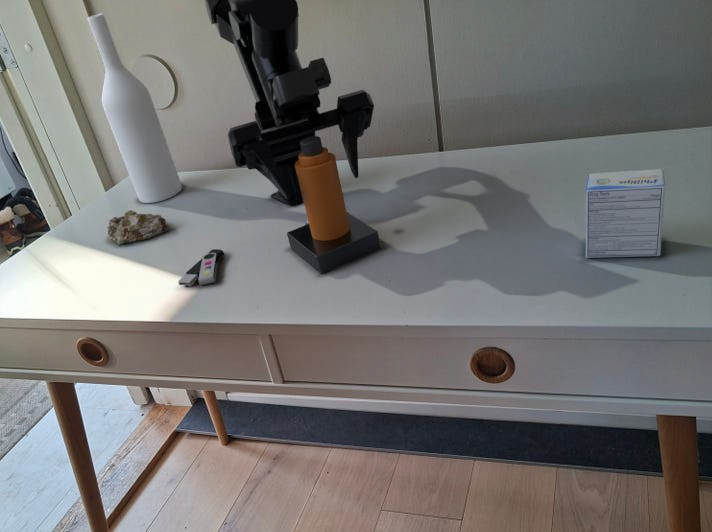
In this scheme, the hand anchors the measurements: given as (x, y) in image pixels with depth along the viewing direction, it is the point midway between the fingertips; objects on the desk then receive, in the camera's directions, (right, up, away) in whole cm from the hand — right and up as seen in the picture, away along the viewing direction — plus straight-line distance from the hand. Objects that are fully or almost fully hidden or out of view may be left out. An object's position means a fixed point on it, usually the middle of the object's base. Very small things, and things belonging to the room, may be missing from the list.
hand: (322, 187), depth 89 cm
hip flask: (+2, -7, +7) cm, 10 cm away
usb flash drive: (-16, -10, +9) cm, 20 cm away
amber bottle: (+1, -5, +5) cm, 7 cm away
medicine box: (+35, -9, -8) cm, 37 cm away
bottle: (-30, +8, +39) cm, 50 cm away
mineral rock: (-30, -2, +25) cm, 39 cm away
